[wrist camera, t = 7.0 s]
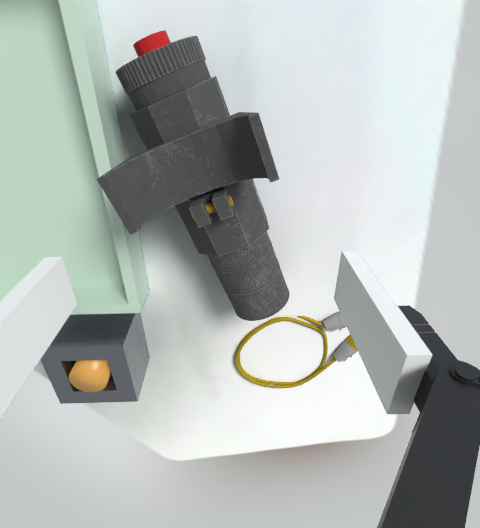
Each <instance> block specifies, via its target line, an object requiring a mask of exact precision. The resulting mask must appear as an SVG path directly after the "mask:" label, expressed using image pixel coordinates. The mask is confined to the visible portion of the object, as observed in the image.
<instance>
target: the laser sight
mask: <svg viewBox="0 0 480 528" xmlns="http://www.w3.org/2000/svg"><path fill="white" fill-rule="evenodd" d="M134 48H135V50H136V53H137V55H138V58H136V59H134V60H132V61H130V62H129V63H127V64H125V65H124V66H122V67H121V68H119V69H118V70H117V71H116V74H117V76H118V78H119V80H120V82H121V84H122V86H123V88H124V90H125V92H126V94H128V95H129V97H130V99H131V101H132V103H133V105H134V107H135V109H136V111H135V112H133V113H131V114H129V115H130V117H131V119H132V121H133V123H134V125H135V127H136V129H137V131H138V133H139V135H140V137H141V139H142V141H143V143H144V145H145V146H146V148H147V151H145V152H142V153H140V154H137V155H135V156H133V157H130V158H128V159H126V160H125V161H123V162H122V163H120V164H119V165H117V166H116V167H114V168H113V169H111V170H110V171H108V172H106V173H105V174H103V175H102V176H100V177H99V178H97V181H98V183H99V184H100V186H101V188H102V189H103V191H104V193H105V194H106V196H107V198H108V199H109V201H110V202H111V204H112V206H113V207H114V209H115V211H116V212H117V214H118V216H119V217H120V219H121V220H122V222H123V224H124V225H125V227H126V229H127V230H128V232H129V234H130V235H131V234H133V233H136V232H138V229H139V228H140V227H141V226H142V225H143V224H144V223H146V222H147V221H149V220H150V219H151V218H153V217H154V216H155V215H157V214H159V213H161V212H163V211H165V210H167V209H169V208H171V207H173V206H176V208H177V210H178V212H179V214H180V216H181V218H182V220H183V222H184V224H185V226H186V228H187V230H188V232H189V234H190V236H191V238H192V240H193V242H194V244H195V246H196V248H197V250H198V252H199V253H202V254H207V255H208V256H209V259H210V261H211V263H212V265H213V267H214V269H215V271H216V273H217V275H218V277H219V279H220V281H221V283H222V286H223V288H224V290H225V291H226V293H227V295H228V297H229V299H230V301H231V303H232V305H233V307H234V310H235V312H236V314H237V315H238V316H239V317H240V318H242V319H244V320H249V321H256V320H262V319H265V318H268V317H270V316H272V315H274V314H276V313H277V312H279V311H280V310H281V309H282V308H283V307H284V306H285V305H286V303H287V301H288V299H289V290H288V288H287V285H286V283H285V280H284V277H283V275H282V272H281V269H280V266H279V263H278V260H277V258H276V256H275V253H274V250H273V247H272V244H271V241H270V239H269V236H268V234H267V230H268V229H269V226H268V222H267V218H266V215H265V212H264V209H263V206H262V204H261V201H260V198H259V195H258V192H257V190H256V187H255V184H254V181H253V178H268V179H269V180H270V182H273V181H276V180H279V177H278V174H277V170H276V167H275V164H274V161H273V158H272V155H271V151H270V148H269V145H268V142H267V139H266V136H265V132H264V129H263V126H262V123H261V120H260V117H259V113H246V112H239V113H236V114H234V115H231V116H230V114H229V112H228V109H227V106H226V103H225V100H224V98H223V95H222V92H221V89H220V87H219V84H218V81H217V78H216V76H215V77H213V78H211V77H210V74H209V72H208V69H207V66H206V64H205V61H204V60H206V59H205V56H204V53H203V50H202V48H201V45H200V42H199V39H198V37H197V36H193V37H188V38H184V39H181V40H178V41H175V42H172V43H170V40H169V38H168V35H167V33H166V31H160V32H157V33H154V34H151V35H149V36H147V37H145V38H143V39H141V40H139V41H137V42H136V43H135V44H134ZM210 78H211V79H210ZM207 79H208V80H207ZM205 80H206V81H205ZM203 81H204V82H203ZM198 83H199V84H198ZM196 84H197V85H196ZM194 85H195V86H194ZM189 87H190V88H189ZM187 88H188V89H187ZM180 91H181V92H180ZM178 92H179V93H178ZM173 94H174V95H173ZM171 95H172V96H171ZM164 98H165V99H164ZM162 99H163V100H162ZM157 101H158V102H157ZM155 102H156V103H155ZM153 103H154V104H153ZM148 105H149V106H148ZM146 106H147V107H146ZM141 108H142V109H141ZM139 109H140V110H139ZM137 110H138V111H137Z"/></svg>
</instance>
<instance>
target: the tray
mask: <svg viewBox="0 0 480 528" xmlns="http://www.w3.org/2000/svg"><path fill="white" fill-rule="evenodd" d="M125 160H126V159H125V153H124V148H123V143H122V137H121V132H120V126H119V121H118V115H117V110H116V105H115V99H114V94H113V88H112V83H111V77H110V72H109V67H108V61H107V56H106V50H105V45H104V39H103V34H102V29H101V23H100V18H99V12H98V7H97V1H96V0H0V301H1V300H2V299H3V298H4V297H5V296H6V295H7V294H8V293H9V292H10V291H11V290H12V289H13V288H14V287H15V286H16V285H17V284H18V283H19V282H20V281H21V280H22V279H23V278H25V277H26V276H27V275H28V274H29V273H30V272H31V271H32V270H33V269H34V268H35V267H36V266H37V265H38V264H39V263H40V262H41V261H42V260H43V259H44V258H45V257H62V259H63V262H64V265H65V268H66V271H67V274H68V277H69V280H70V284H71V287H72V290H73V293H74V296H75V299H76V302H77V305H76V307H75V308H74V310H73V311H72V313H71V314H70V315H76V314H118V313H141V312H142V309H143V307H144V304H145V301H146V298H147V296H148V293H149V290H150V289H149V284H148V278H147V273H146V268H145V262H144V257H143V251H142V246H141V240H140V235H139V230H138V232H136V233H133V234H131V235H130V234H129V232H128V230H127V229H126V227H125V225H124V224H123V222H122V220H121V219H120V217H119V216H118V214H117V212H116V211H115V209H114V207H113V206H112V204H111V202H110V201H109V199H108V198H107V196H106V194H105V193H104V191H103V189H102V188H101V186H100V184H99V183H98V181H97V178H99V177H100V176H102V175H103V174H105V173H106V172H108V171H110V170H111V169H113V168H114V167H116V166H117V165H119V164H120V163H122V162H123V161H125Z"/></svg>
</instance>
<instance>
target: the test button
mask: <svg viewBox="0 0 480 528" xmlns="http://www.w3.org/2000/svg"><path fill="white" fill-rule="evenodd" d="M110 375H111V370H110V366H109V363H108V360H81V361H76V362H75V364H74V366H73V368H72V370H71V372H70V374H69V381H70V383H71V384H72V385H73V386H74V387H75V388H77V389H79V390H81V391H85V392H98V391H101V390H103V389H104V388H105V387H106V385H107V383H108V380H109V377H110Z"/></svg>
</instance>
